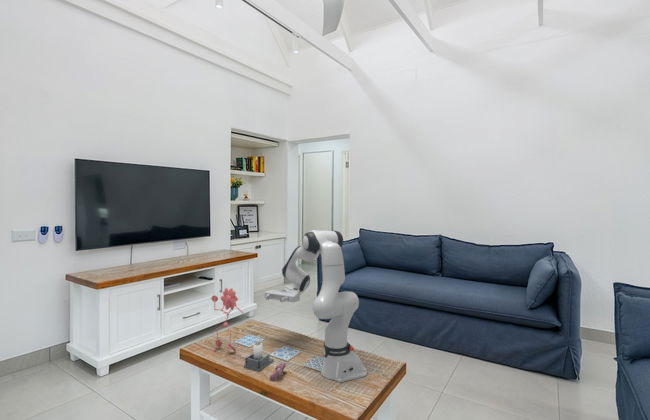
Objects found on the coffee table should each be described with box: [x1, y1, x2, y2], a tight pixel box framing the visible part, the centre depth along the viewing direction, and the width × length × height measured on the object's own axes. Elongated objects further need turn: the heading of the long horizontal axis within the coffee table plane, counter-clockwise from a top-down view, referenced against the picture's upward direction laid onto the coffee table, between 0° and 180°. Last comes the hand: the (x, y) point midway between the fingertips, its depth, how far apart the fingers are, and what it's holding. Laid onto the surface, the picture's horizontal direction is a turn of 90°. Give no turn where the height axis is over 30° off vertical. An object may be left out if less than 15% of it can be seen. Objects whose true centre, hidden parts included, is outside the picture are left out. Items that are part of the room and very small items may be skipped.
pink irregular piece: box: [269, 361, 287, 381], centre depth 155 cm, size 10×5×7 cm, turn 171°
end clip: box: [243, 353, 275, 373], centre depth 166 cm, size 12×10×5 cm
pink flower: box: [211, 287, 245, 359], centre depth 183 cm, size 15×26×35 cm, turn 59°
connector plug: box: [252, 338, 263, 361], centre depth 164 cm, size 4×4×12 cm
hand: (273, 299), depth 178 cm, fingers open, 8 cm apart
